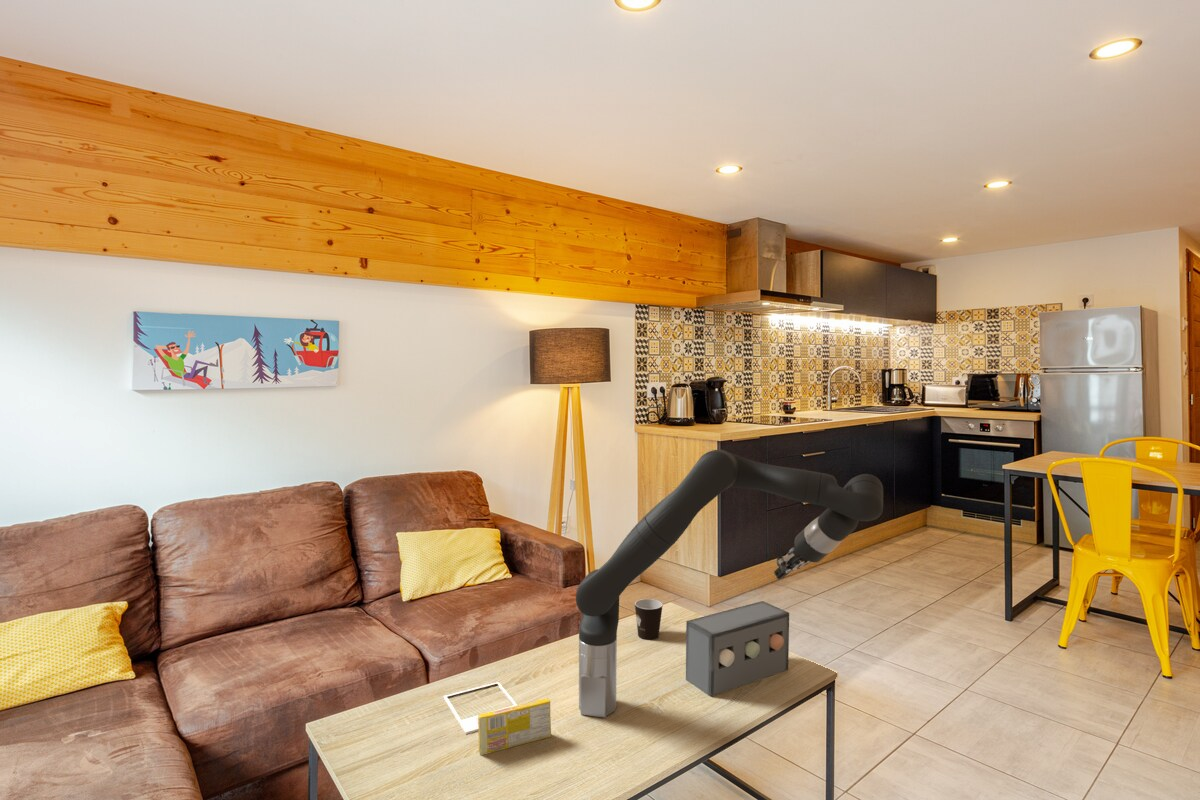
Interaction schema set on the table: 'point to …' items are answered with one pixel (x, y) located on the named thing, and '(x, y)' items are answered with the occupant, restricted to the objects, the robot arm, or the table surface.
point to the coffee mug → (648, 618)
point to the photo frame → (472, 722)
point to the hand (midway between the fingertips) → (777, 575)
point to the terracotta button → (776, 641)
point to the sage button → (752, 649)
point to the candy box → (514, 726)
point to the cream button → (726, 657)
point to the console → (735, 647)
